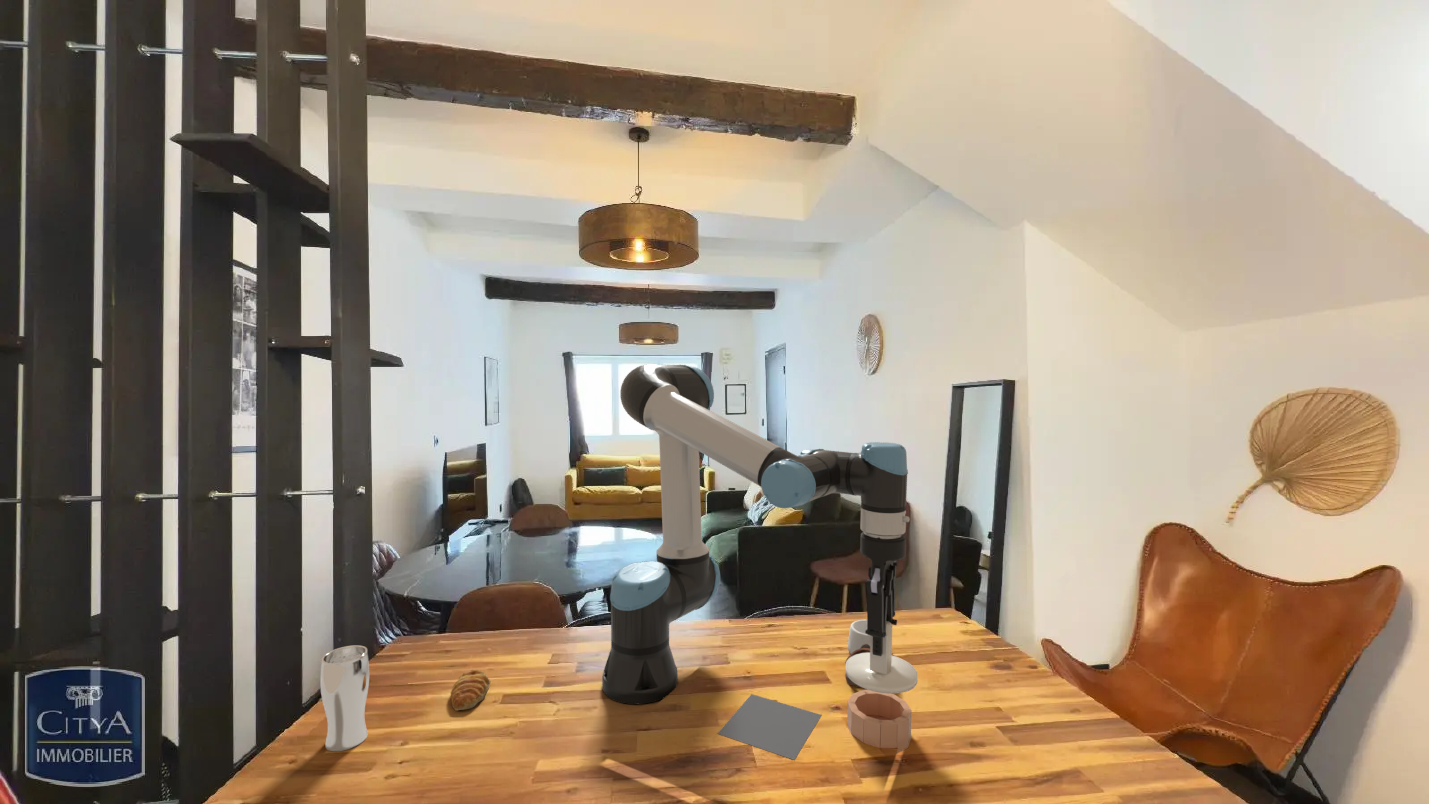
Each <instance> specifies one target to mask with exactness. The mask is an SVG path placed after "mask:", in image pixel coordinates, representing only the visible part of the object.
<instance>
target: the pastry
mask: <svg viewBox="0 0 1429 804" xmlns="http://www.w3.org/2000/svg"><path fill="white" fill-rule="evenodd" d="M490 685H491V679H490V678H489V677H488V675H487V674H485V672H484V671H482V670H479V669H472V670H469V671H467V672H463V674H462V675H460V676H459V677H458V680H457V681H456V682H455V683H454V684H453V685H452V689H451V691H450V699H451V705H452V708H453V709H454V711H460V710H461V711H463V710H469V709H473V708H475V706H477V705H478V703H480V702H482V701H483V700H484V699H485V696H486V694H487V692H488V690H489V687H490Z"/></svg>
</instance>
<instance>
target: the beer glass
mask: <svg viewBox="0 0 1429 804" xmlns="http://www.w3.org/2000/svg"><path fill="white" fill-rule="evenodd" d="M319 684H320V694H321V701H322V704H323V708H324V713H325V716H326V720H327V721H326V722H327V734H326V738H325V742H324V743H325V745H324V746H325V749H326V750H327V751H329V752H343V751H347V750H350V749H353V748H355V747H357V746H359V745H361V744H362V743H363V742H364V741H365V740H366V739H367V737H368V729H367V725H366V720H365V710H366V704H367V698H368V692H369V684H370V663H369V654H368V648H367V646H363V645H361V644H360V645H354V644H353V645H352V644H351V645H346V646H342V647H338V648H335V649H332V650H331V651H328V652H326V653H325V654H324V655H323V656H322V657H321V665H320V683H319Z"/></svg>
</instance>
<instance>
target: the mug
mask: <svg viewBox="0 0 1429 804" xmlns="http://www.w3.org/2000/svg"><path fill="white" fill-rule="evenodd" d="M866 630H867V619H859V620H855V621H853V622H852V623H851V624H850V628H849V634H848V639H847V650H848V652H849V654H851V653H853V652H854V651H856V650H858V649H860V648H861V646H862V645H865V644H868V645H869V646H870V635H868V634H866V633H865V631H866Z"/></svg>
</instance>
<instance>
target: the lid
mask: <svg viewBox="0 0 1429 804" xmlns="http://www.w3.org/2000/svg"><path fill="white" fill-rule="evenodd" d="M886 635H887V673H886V674H882V673H878V672H874V671H870V653H860V654H856V655H854V656H852V657H850V658H849V659H848V660H847V659H846V660H847V662H846V661H845V662H846V664H845V674H847V676H848V678H849V679H850V680H851V681H852V682H854V683H855V684H857V685H858V686H860V687H859V688H862V689H864V690H871V691H875V692H879V693H889V694H894V695H895V694H903V693H906V692H909V691H911V690H913V689H914V688H915V687H916V686H917V684H918V679H919V678H918V671H917V669H916V668H915V667H914V665H912V664H911V663H910V662H909V661H907V660H905V659H902V658H901V657H898V656H895V655H893V625H892V624H891V623H890V622H888V621H886ZM891 655H892V663H891Z"/></svg>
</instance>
